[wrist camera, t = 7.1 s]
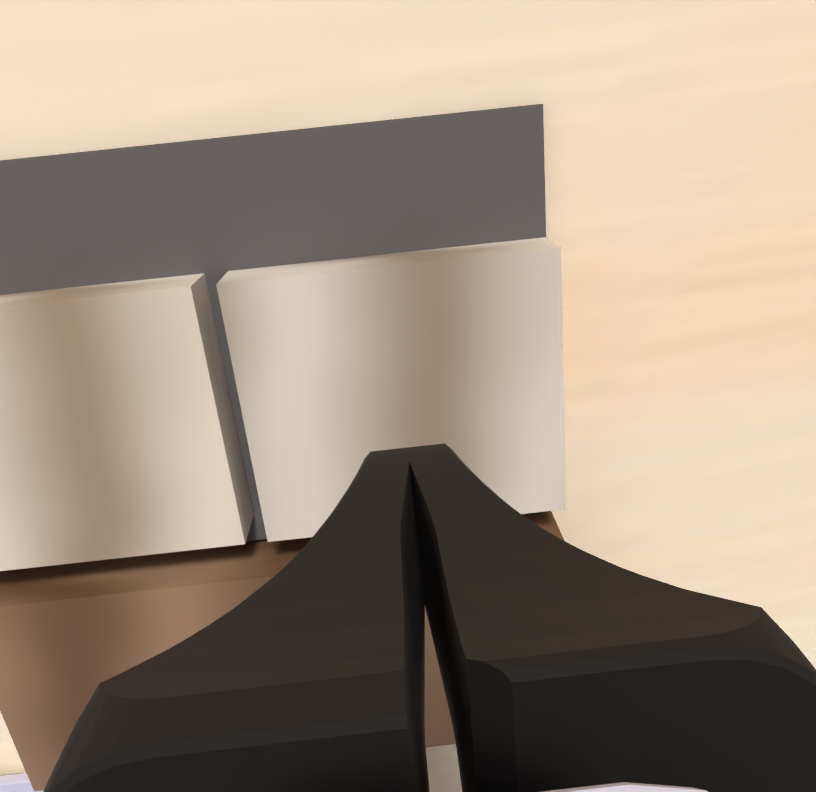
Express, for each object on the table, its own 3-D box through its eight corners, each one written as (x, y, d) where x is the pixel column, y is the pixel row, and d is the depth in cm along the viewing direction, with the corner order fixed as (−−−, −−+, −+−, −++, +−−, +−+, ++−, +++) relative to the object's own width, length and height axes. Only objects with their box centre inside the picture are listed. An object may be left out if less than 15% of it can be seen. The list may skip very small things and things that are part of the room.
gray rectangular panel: (-10, 563, 21) (-15, 569, 21) (-158, 177, 17) (-167, 178, 17) (549, 502, 21) (551, 507, 21) (540, 103, 17) (542, 103, 17)
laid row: (58, 740, 24) (34, 791, 22) (-8, 569, 21) (-41, 611, 19) (553, 685, 24) (568, 730, 22) (549, 508, 21) (565, 544, 20)
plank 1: (-27, 545, 20) (-56, 577, 19) (-116, 307, 18) (-158, 323, 16) (253, 514, 20) (245, 544, 19) (204, 273, 18) (190, 286, 17)
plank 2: (274, 512, 20) (267, 542, 19) (228, 271, 18) (216, 284, 16) (551, 482, 21) (565, 509, 19) (545, 236, 18) (561, 247, 17)
